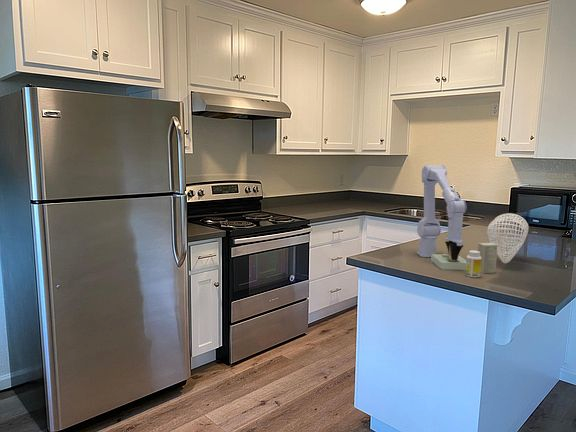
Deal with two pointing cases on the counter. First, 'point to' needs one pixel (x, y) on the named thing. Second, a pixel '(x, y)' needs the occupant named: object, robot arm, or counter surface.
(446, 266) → the board
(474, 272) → the supplement bottle
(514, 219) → the heart
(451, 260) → the dowel
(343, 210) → the counter surface
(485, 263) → the skincare box
